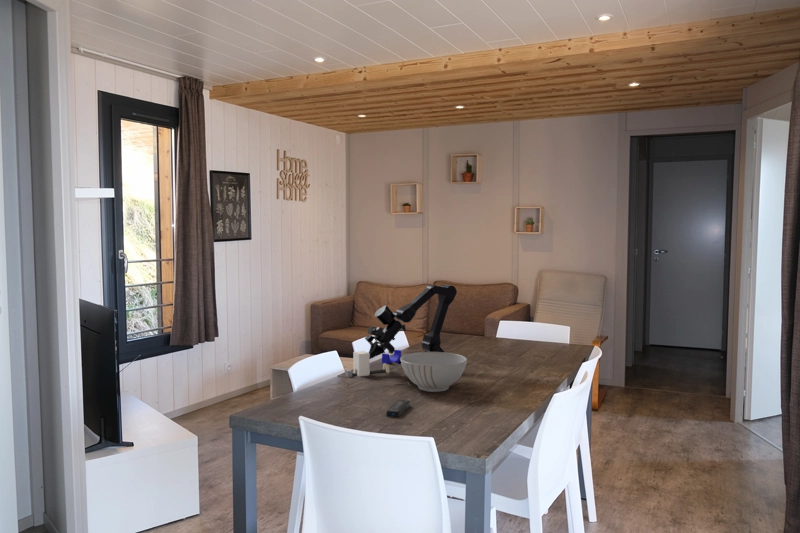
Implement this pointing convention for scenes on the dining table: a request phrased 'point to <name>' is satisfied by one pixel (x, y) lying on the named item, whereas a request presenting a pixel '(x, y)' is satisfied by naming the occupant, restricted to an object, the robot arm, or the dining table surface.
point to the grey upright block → (361, 363)
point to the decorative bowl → (433, 369)
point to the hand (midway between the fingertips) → (367, 359)
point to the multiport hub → (398, 408)
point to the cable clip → (392, 357)
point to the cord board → (385, 369)
